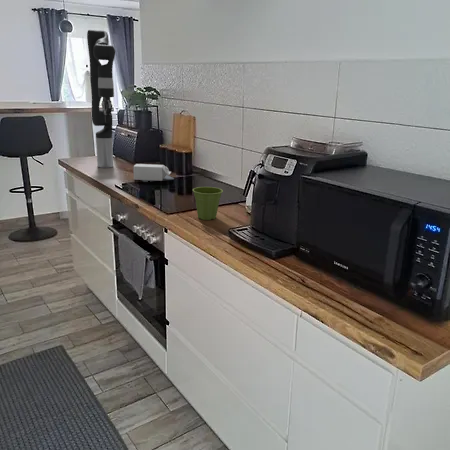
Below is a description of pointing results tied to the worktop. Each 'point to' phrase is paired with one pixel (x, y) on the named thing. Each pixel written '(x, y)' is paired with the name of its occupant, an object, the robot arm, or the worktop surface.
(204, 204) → the plant pot
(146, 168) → the milk carton
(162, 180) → the mat
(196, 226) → the worktop surface
